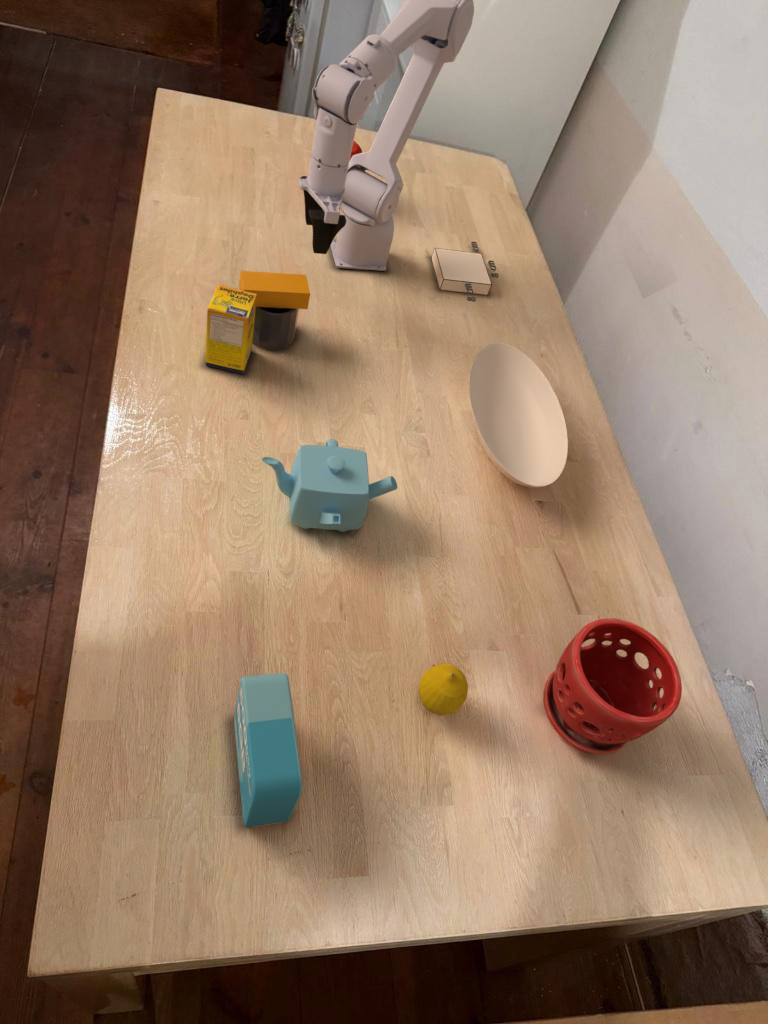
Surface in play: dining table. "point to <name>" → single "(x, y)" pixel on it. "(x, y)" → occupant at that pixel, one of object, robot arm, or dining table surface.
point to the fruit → (443, 689)
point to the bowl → (517, 416)
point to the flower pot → (610, 687)
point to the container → (462, 271)
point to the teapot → (329, 486)
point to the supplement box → (230, 328)
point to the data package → (267, 750)
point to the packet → (276, 289)
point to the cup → (274, 327)
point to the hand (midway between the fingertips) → (315, 238)
